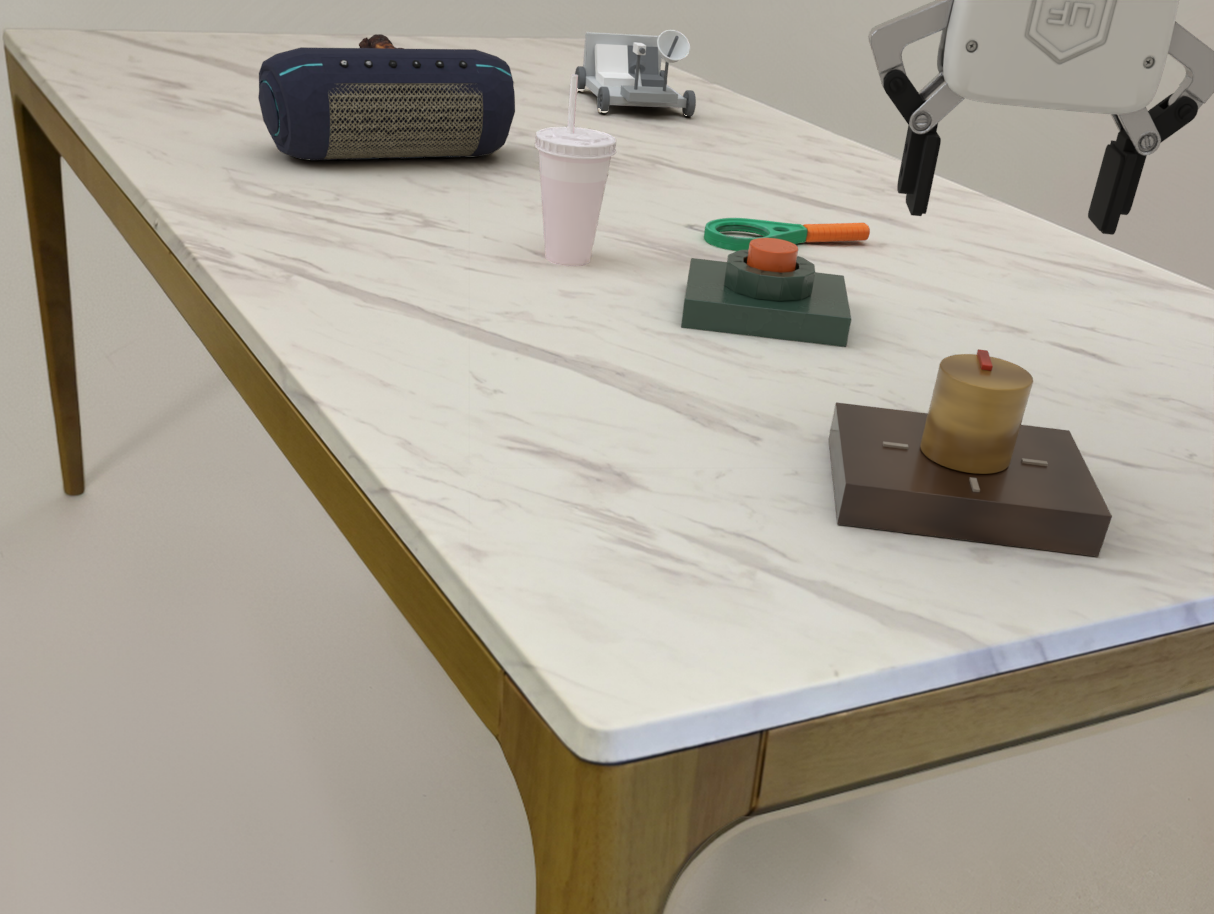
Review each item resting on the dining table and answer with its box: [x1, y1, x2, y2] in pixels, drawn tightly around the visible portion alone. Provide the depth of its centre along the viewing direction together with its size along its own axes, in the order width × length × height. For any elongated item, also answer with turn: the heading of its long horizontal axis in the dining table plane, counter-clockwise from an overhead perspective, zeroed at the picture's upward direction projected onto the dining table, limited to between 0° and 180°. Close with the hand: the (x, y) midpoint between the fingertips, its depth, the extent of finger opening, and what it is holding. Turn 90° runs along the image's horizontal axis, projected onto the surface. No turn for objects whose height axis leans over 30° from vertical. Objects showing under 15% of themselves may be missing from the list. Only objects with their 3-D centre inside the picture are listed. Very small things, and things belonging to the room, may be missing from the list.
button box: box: [680, 250, 852, 348], centre depth 95 cm, size 12×10×4 cm
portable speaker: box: [257, 47, 516, 161], centre depth 123 cm, size 25×10×10 cm, turn 115°
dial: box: [920, 349, 1034, 474], centre depth 70 cm, size 5×5×5 cm
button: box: [747, 237, 799, 273], centre depth 93 cm, size 4×4×2 cm
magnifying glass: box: [703, 217, 871, 252], centre depth 112 cm, size 15×6×2 cm, turn 105°
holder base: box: [828, 402, 1113, 558], centre depth 72 cm, size 14×11×3 cm
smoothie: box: [534, 73, 617, 267], centre depth 99 cm, size 6×6×14 cm
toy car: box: [574, 29, 697, 117], centre depth 154 cm, size 18×10×12 cm
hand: (1007, 218), depth 66 cm, fingers open, 9 cm apart
